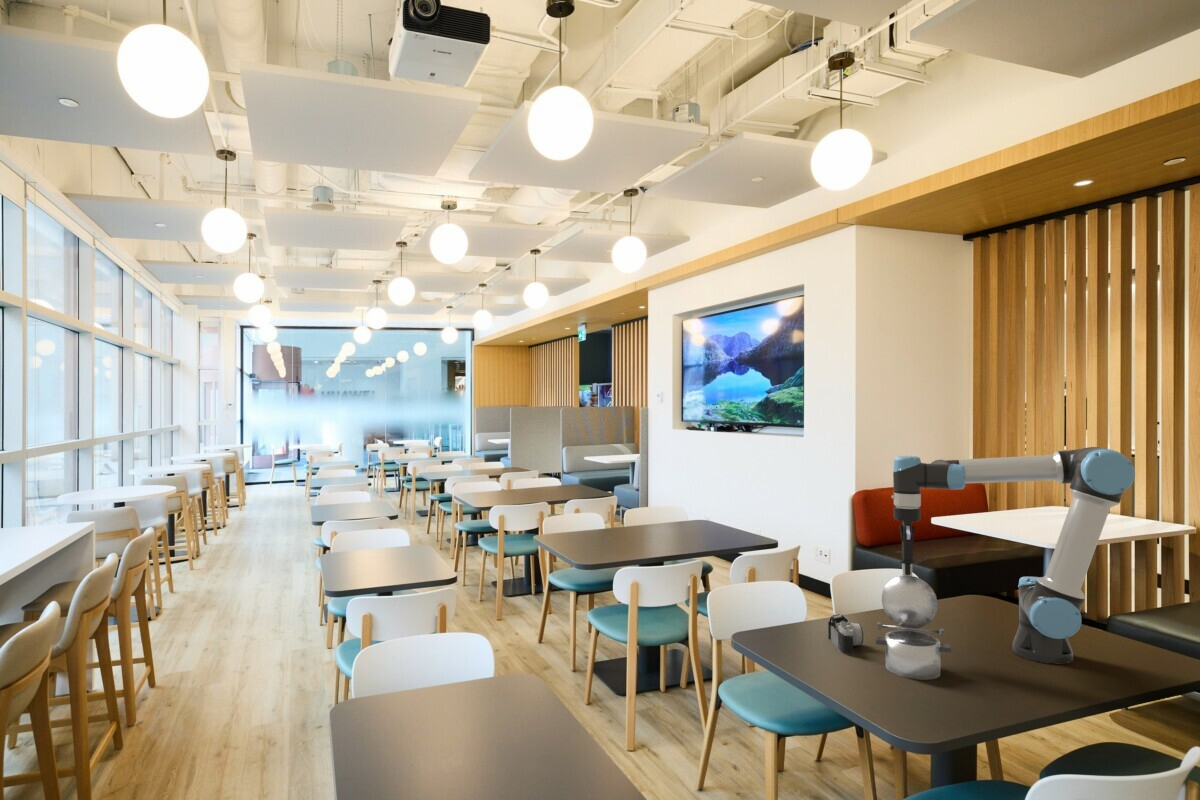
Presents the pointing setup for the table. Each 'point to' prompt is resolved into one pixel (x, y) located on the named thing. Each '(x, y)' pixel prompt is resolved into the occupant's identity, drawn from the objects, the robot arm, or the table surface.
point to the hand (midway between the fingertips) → (907, 584)
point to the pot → (912, 653)
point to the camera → (844, 633)
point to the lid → (909, 603)
